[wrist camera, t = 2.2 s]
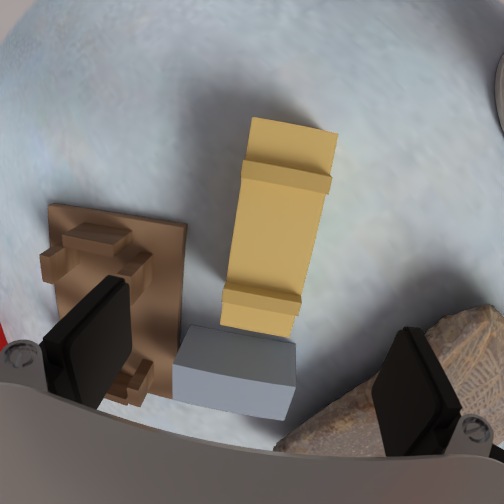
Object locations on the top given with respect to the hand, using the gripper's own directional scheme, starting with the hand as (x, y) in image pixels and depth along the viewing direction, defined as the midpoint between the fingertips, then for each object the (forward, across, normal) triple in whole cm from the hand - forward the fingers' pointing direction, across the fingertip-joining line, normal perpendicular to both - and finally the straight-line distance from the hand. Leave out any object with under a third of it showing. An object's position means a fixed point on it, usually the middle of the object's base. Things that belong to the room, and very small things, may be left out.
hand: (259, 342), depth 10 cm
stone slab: (+17, -23, +20) cm, 35 cm away
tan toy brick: (+16, 0, 0) cm, 16 cm away
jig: (+16, +14, +12) cm, 24 cm away
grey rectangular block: (+16, +1, +14) cm, 21 cm away
